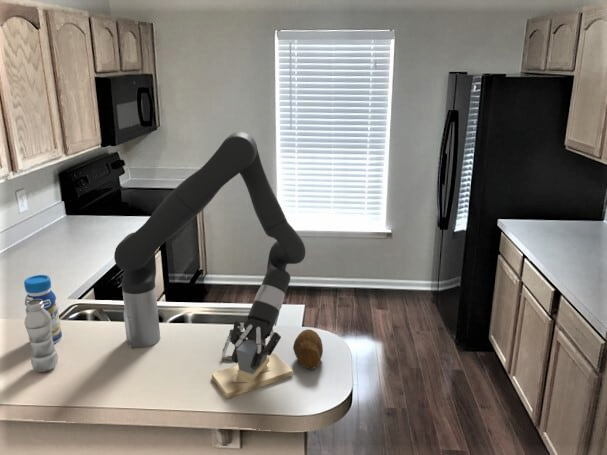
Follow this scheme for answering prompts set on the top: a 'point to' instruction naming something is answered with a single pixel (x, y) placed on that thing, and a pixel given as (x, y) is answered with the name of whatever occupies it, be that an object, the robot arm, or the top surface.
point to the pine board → (238, 384)
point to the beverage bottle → (44, 300)
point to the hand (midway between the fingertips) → (243, 365)
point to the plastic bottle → (40, 336)
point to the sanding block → (249, 359)
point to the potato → (308, 348)
